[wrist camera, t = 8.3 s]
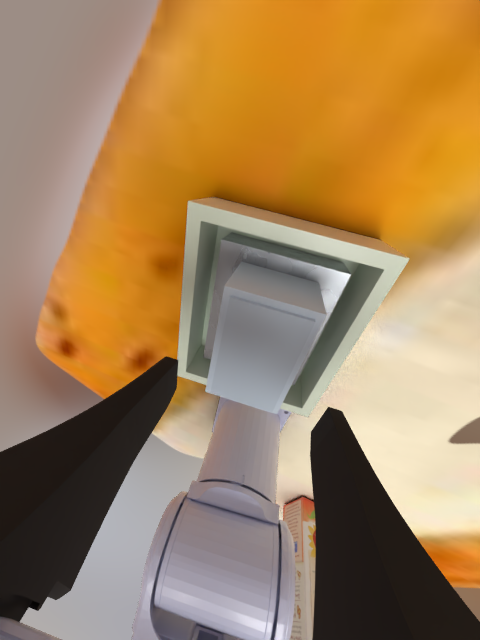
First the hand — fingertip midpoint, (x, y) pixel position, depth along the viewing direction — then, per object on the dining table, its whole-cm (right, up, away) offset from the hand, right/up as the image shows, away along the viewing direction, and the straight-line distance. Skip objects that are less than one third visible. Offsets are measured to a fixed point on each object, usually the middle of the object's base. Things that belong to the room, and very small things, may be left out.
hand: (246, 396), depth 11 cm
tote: (+2, +5, +8) cm, 10 cm away
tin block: (+2, +5, +8) cm, 9 cm away
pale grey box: (+1, +3, +6) cm, 7 cm away
